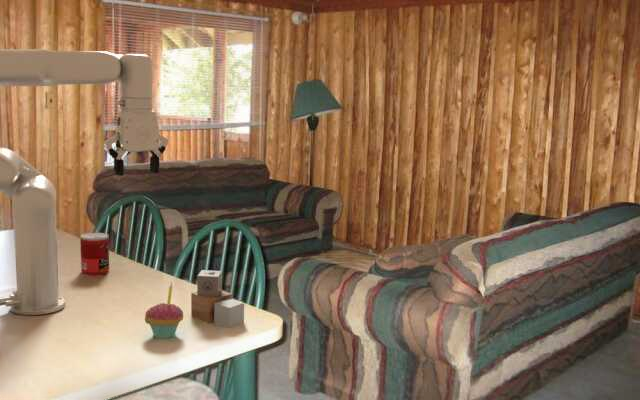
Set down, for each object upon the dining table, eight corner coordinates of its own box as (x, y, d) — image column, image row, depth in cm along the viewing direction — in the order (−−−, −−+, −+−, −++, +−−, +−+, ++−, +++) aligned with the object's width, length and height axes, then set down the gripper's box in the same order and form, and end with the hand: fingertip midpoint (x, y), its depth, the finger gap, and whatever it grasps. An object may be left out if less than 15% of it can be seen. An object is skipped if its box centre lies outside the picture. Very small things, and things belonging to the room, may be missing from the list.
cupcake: (167, 325, 164) (167, 276, 162) (191, 334, 158) (191, 284, 156) (137, 334, 157) (136, 283, 155) (160, 345, 152) (160, 292, 150)
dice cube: (217, 296, 168) (218, 276, 167) (197, 295, 168) (197, 275, 167) (221, 290, 173) (221, 271, 172) (201, 289, 173) (201, 270, 172)
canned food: (104, 276, 201) (103, 239, 199) (77, 274, 201) (76, 237, 199) (113, 268, 208) (112, 233, 206) (86, 267, 208) (85, 232, 206)
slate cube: (229, 328, 164) (229, 307, 163) (214, 323, 166) (214, 303, 166) (243, 322, 168) (244, 302, 167) (228, 317, 170) (228, 298, 170)
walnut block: (208, 323, 166) (208, 299, 165) (191, 316, 171) (191, 292, 170) (231, 317, 171) (231, 294, 170) (214, 310, 176) (214, 287, 175)
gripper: (111, 106, 163) (112, 178, 166) (175, 105, 175) (175, 173, 178) (96, 104, 168) (97, 174, 171) (159, 104, 180) (159, 169, 183)
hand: (137, 173), depth 175 cm, fingers open, 9 cm apart
